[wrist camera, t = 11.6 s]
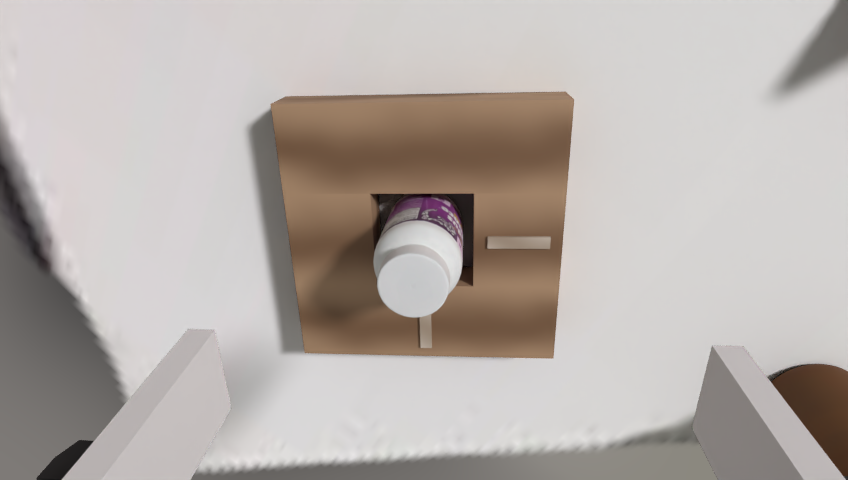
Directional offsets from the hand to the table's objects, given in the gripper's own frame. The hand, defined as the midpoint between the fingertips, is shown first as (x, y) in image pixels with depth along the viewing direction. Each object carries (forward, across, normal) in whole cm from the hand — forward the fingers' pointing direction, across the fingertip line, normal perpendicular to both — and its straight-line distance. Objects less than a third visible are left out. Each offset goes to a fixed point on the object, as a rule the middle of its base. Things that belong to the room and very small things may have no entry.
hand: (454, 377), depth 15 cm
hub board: (+23, -3, -6) cm, 24 cm away
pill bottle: (+24, -3, -5) cm, 24 cm away
